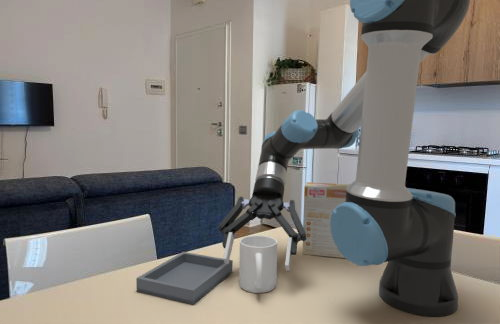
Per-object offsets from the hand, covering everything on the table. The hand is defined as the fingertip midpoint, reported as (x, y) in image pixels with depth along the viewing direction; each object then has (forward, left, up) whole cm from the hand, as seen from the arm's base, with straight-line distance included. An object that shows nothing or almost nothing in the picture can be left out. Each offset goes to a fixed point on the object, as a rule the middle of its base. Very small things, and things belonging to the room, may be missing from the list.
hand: (255, 264), depth 81 cm
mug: (0, -1, -6) cm, 6 cm away
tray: (+16, +2, -6) cm, 17 cm away
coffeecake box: (-10, -31, -6) cm, 33 cm away
